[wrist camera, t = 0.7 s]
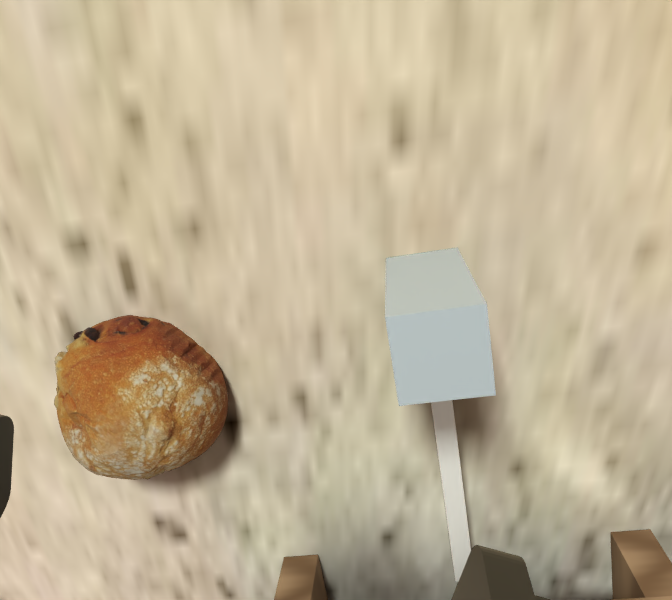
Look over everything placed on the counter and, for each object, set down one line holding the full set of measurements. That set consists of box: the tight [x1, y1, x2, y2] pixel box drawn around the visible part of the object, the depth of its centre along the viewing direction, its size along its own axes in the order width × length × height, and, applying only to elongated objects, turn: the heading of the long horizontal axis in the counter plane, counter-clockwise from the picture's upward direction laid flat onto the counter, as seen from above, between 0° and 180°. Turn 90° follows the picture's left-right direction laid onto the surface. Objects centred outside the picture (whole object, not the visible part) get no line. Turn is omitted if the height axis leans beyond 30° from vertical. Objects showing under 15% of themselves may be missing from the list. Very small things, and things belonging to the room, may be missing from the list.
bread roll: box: [54, 315, 228, 480], centre depth 34 cm, size 10×10×8 cm
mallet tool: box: [385, 248, 496, 582], centre depth 30 cm, size 4×21×10 cm, turn 10°
